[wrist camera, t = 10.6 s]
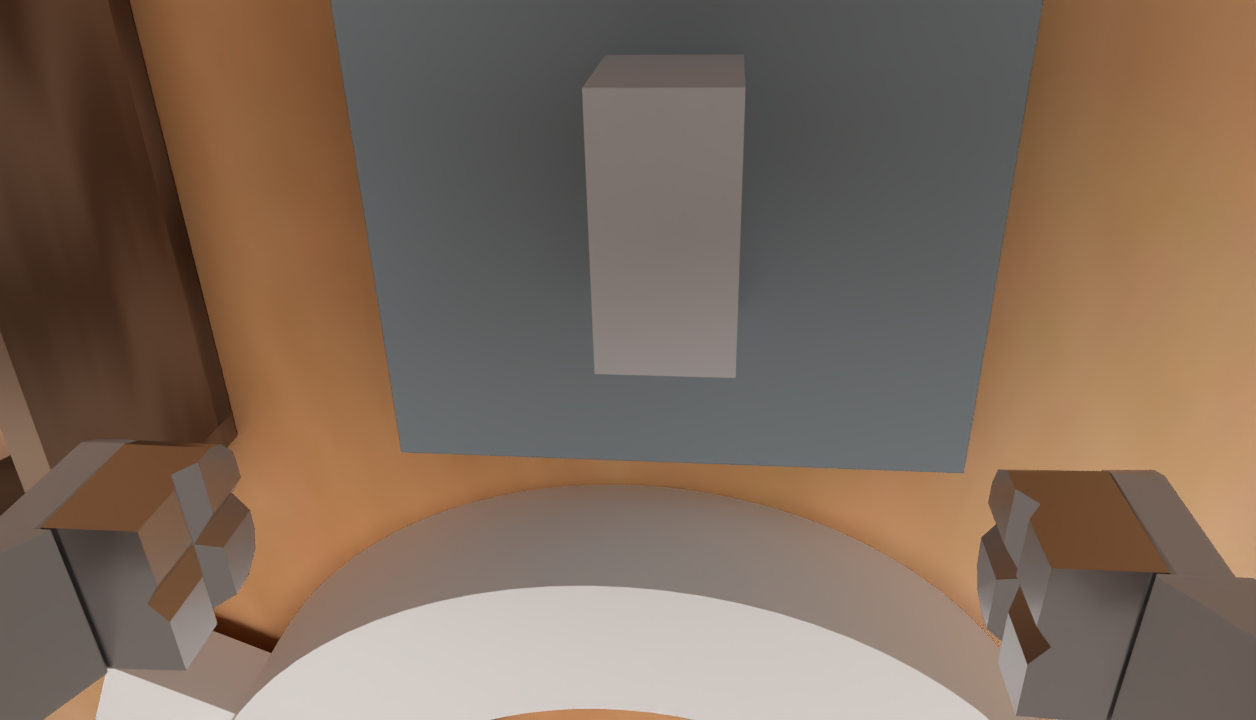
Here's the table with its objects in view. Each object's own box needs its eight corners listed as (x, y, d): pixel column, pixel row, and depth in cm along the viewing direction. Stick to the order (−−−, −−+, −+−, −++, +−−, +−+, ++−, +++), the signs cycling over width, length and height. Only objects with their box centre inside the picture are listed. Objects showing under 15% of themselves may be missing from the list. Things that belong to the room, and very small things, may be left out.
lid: (336, -171, 21) (219, -183, 16) (1048, -193, 19) (1149, -213, 15) (420, 418, 28) (356, 530, 23) (950, 436, 26) (996, 560, 21)
